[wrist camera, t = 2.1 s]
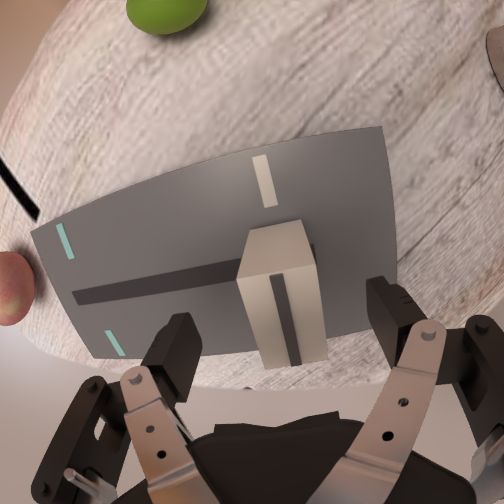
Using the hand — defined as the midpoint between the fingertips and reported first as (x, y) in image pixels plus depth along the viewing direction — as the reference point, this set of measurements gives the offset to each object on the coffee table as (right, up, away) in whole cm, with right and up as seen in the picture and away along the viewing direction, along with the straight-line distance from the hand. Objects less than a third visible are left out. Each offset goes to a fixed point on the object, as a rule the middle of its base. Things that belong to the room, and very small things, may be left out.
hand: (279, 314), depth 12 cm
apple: (-27, 0, +12) cm, 30 cm away
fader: (+1, +2, +5) cm, 5 cm away
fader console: (-5, +2, +9) cm, 11 cm away
